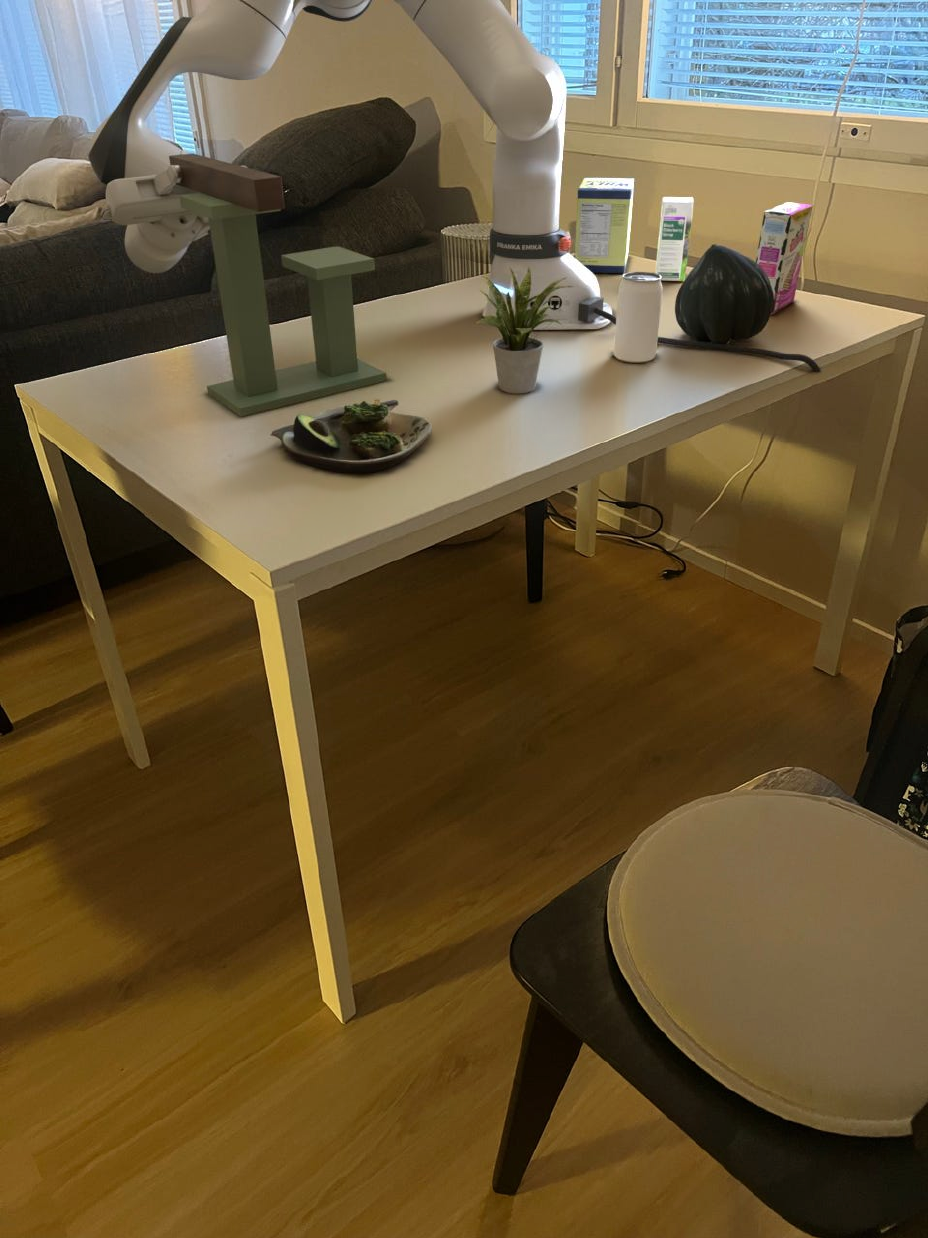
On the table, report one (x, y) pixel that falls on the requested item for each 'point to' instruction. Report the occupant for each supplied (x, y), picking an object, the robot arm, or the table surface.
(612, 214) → the protein box
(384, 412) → the salad plate
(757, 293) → the squash
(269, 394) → the plant stand
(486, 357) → the table surface
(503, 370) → the house plant
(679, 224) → the syrup box
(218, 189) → the walnut stick
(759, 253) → the candy bar box
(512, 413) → the table surface
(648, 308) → the can
